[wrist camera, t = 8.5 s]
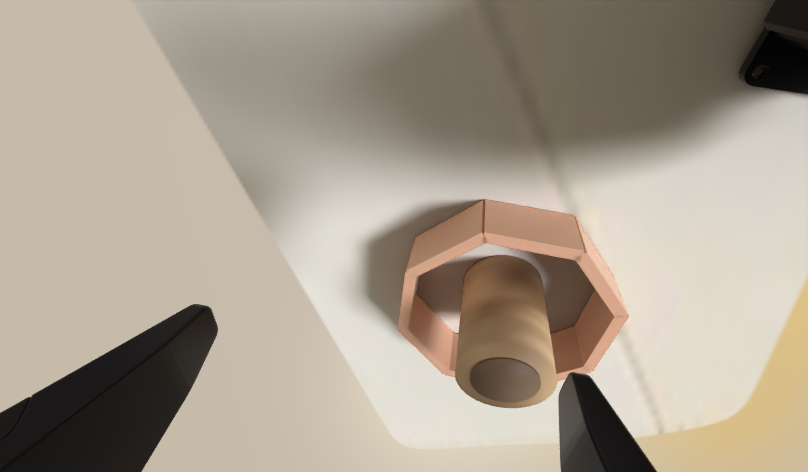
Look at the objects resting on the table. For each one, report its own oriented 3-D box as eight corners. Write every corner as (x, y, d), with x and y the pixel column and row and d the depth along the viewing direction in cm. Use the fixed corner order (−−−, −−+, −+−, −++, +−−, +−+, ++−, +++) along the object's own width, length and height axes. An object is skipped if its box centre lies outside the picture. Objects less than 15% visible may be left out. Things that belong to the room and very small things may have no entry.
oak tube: (553, 263, 22) (572, 363, 16) (529, 319, 24) (539, 419, 19) (471, 248, 22) (464, 339, 17) (457, 304, 25) (447, 398, 20)
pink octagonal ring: (641, 227, 19) (662, 265, 17) (564, 362, 26) (571, 403, 24) (422, 187, 20) (412, 218, 18) (401, 327, 27) (393, 363, 25)
